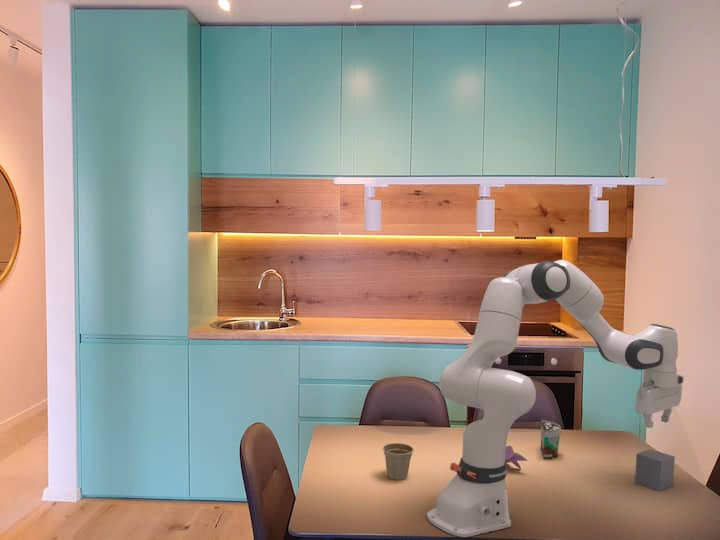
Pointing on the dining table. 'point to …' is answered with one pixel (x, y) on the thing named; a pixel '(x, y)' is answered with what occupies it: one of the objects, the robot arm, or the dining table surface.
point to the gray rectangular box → (654, 469)
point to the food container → (550, 439)
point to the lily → (513, 456)
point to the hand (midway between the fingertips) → (657, 424)
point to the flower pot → (397, 460)
